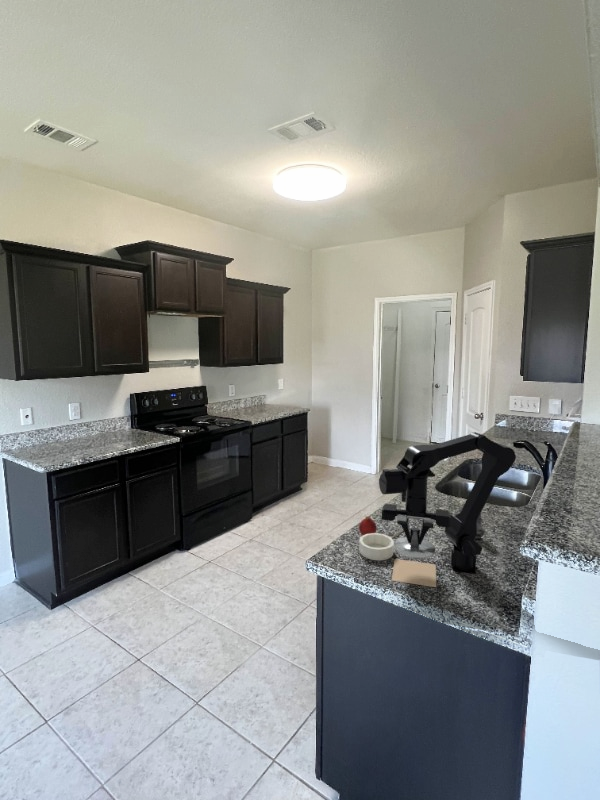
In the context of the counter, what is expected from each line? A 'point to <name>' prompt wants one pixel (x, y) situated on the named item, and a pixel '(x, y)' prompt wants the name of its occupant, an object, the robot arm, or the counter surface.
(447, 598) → the counter surface
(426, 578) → the mat
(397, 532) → the tweezers
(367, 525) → the onion
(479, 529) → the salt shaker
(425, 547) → the lid
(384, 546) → the bowl
